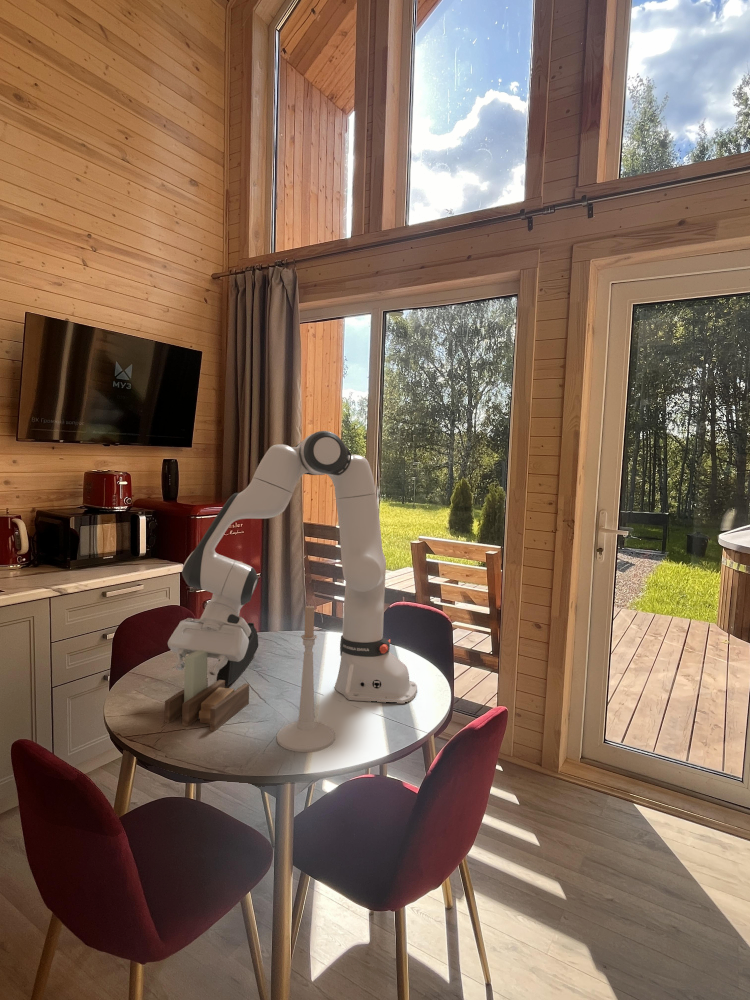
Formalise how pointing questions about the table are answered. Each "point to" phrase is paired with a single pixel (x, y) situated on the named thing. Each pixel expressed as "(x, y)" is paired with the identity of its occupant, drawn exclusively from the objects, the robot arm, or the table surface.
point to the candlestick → (306, 704)
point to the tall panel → (195, 674)
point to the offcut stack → (212, 703)
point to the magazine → (237, 668)
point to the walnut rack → (217, 712)
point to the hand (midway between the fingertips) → (195, 671)
